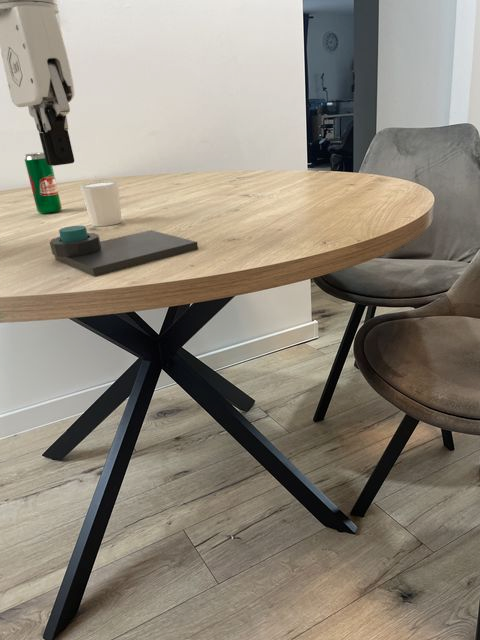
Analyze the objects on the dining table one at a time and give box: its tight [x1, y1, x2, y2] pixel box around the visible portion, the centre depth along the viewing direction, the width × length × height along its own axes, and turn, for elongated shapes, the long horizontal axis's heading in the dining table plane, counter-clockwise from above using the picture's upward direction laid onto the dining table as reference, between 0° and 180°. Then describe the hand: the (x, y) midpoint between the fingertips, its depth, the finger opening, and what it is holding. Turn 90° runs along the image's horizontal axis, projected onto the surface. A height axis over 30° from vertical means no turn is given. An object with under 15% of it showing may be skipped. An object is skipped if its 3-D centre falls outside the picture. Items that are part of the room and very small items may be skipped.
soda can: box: [24, 151, 63, 215], centre depth 108 cm, size 5×5×12 cm
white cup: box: [79, 181, 123, 227], centre depth 95 cm, size 7×7×7 cm
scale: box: [49, 229, 199, 278], centre depth 73 cm, size 17×14×3 cm
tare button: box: [58, 225, 88, 242], centre depth 72 cm, size 4×4×2 cm
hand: (61, 163), depth 68 cm, fingers closed
